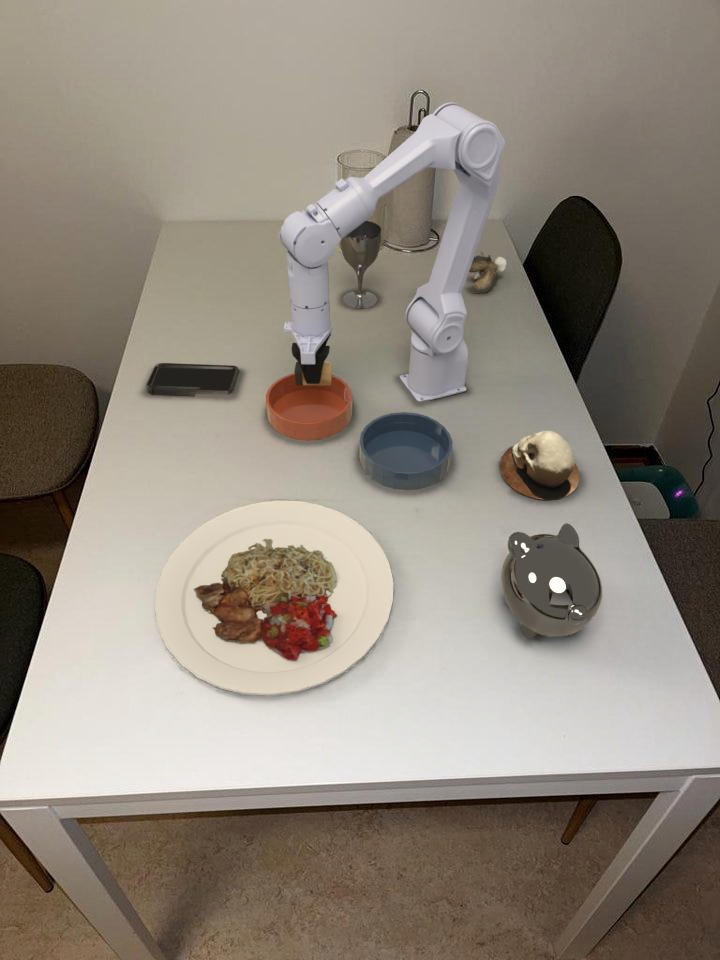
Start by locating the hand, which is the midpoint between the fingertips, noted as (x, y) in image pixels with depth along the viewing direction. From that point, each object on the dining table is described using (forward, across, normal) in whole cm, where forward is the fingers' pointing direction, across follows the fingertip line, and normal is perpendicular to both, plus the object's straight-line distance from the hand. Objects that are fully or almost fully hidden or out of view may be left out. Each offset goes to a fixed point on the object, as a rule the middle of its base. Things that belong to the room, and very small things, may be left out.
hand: (313, 376), depth 109 cm
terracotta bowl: (+8, -1, -1) cm, 8 cm away
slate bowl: (+8, +10, +14) cm, 20 cm away
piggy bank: (+9, +38, +31) cm, 50 cm away
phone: (+8, -9, -22) cm, 25 cm away
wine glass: (+9, -39, +7) cm, 40 cm away
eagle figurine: (+9, -47, +33) cm, 58 cm away
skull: (+9, +12, +35) cm, 38 cm away
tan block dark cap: (+1, 0, 0) cm, 1 cm away
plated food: (+8, +36, -3) cm, 37 cm away
